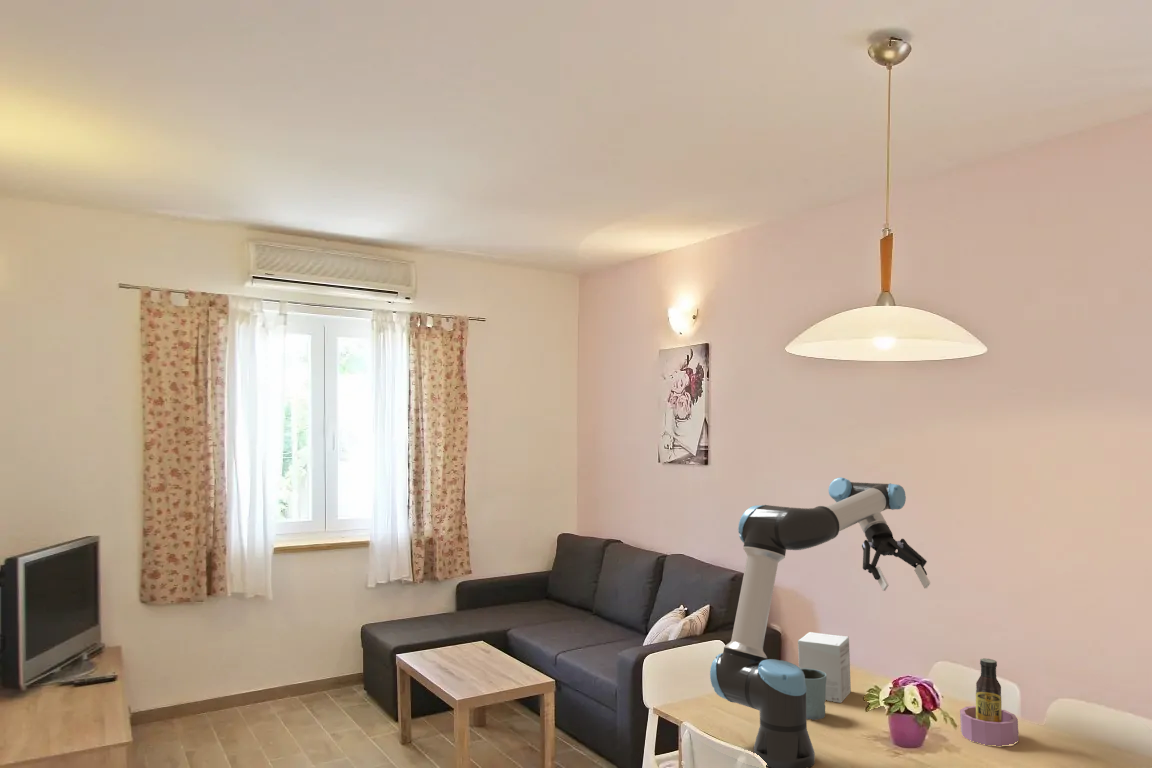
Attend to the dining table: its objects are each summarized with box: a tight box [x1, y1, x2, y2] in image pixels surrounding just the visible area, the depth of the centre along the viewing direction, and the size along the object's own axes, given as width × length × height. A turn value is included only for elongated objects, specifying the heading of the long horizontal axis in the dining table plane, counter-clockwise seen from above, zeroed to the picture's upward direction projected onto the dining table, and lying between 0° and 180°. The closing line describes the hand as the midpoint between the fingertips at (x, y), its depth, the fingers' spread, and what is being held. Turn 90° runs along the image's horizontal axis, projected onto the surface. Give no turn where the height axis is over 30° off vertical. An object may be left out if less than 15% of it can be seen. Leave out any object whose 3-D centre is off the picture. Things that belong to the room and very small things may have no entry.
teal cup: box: [801, 668, 826, 721], centre depth 235 cm, size 10×10×12 cm
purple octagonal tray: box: [959, 705, 1020, 746], centre depth 216 cm, size 14×14×6 cm
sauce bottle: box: [975, 658, 1002, 722], centre depth 217 cm, size 6×6×20 cm
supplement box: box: [797, 631, 852, 704], centre depth 254 cm, size 13×13×18 cm
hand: (906, 586), depth 233 cm, fingers open, 13 cm apart
